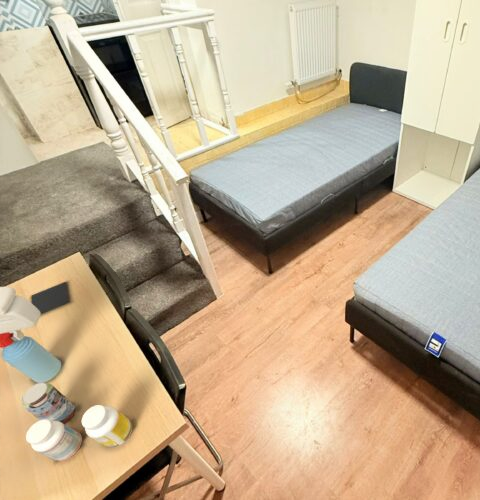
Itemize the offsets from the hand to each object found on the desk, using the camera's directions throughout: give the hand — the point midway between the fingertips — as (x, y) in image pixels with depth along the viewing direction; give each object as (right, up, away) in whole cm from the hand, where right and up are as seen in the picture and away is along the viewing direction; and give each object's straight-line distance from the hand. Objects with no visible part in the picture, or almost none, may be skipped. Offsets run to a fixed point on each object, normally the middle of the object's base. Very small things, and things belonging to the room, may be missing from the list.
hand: (7, 340), depth 80 cm
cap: (0, +1, -1) cm, 2 cm away
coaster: (-13, +6, +29) cm, 32 cm away
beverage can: (+12, -19, +3) cm, 23 cm away
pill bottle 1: (+17, -24, -2) cm, 29 cm away
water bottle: (+1, -11, +11) cm, 16 cm away
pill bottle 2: (+27, -22, -1) cm, 35 cm away
